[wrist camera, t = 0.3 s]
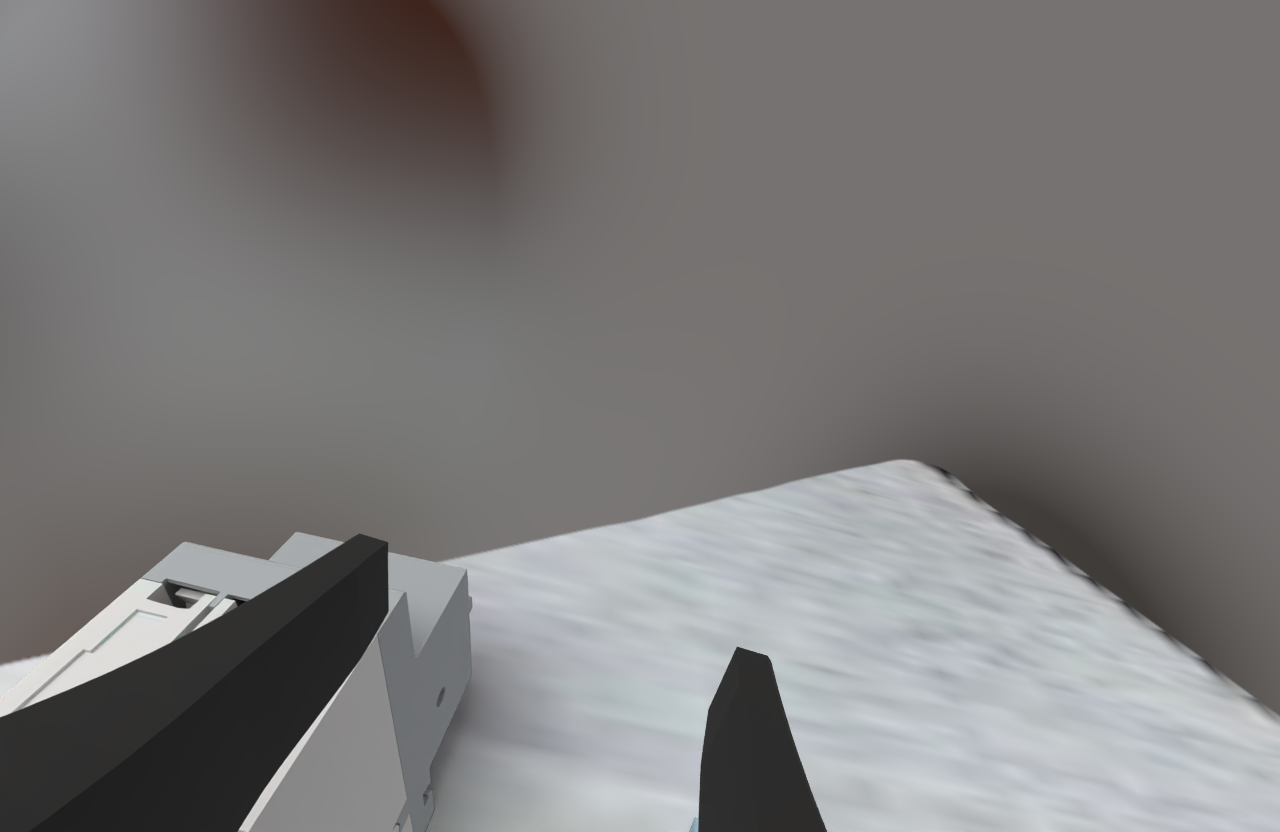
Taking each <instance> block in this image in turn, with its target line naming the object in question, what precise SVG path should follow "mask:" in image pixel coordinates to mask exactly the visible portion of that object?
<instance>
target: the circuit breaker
mask: <svg viewBox="0 0 1280 832" xmlns="http://www.w3.org/2000/svg"><path fill="white" fill-rule="evenodd" d="M343 543H344V542H341V541H336V540H332V539H327V538H322V537H318V536H314V535H309V534H305V533H300V532H296V533H295V534H294V535H293V536H292V537H291V538H290V539H289V540H288V541H287V542H286V543H285V544H284V545H283V546H282V547H281V548H280V549H279V550H278V551H277V552H276V553H275V554H274V555H273V556H272V557H271V558H270V559H269V560H264V559H259V558H255V557H251V556H246V555H242V554H238V553H233V552H229V551H224V550H220V549H215V548H211V547H207V546H202V545H198V544H194V543H189V542H183V543H182V544H181V545H180V546H178V547H177V548H176V549H175V550H174V551H172V552H171V553H170V554H169V555H168V556H167V557H165V558H164V559H163V560H162V561H161V562H159V563H158V564H157V565H156V566H155V567H154V568H152V569H151V570H150V571H149V572H148V573H146V574H145V575H144V576H143V577H142V579H139V580H138V581H137V582H136V583H135V584H133V585H132V586H131V587H130V588H129V589H128V590H126V591H125V592H124V593H123V594H122V595H120V596H119V597H118V598H117V599H116V600H115V601H114V602H113V603H111V604H110V605H109V606H108V607H106V608H105V609H104V610H103V611H102V612H100V613H99V614H98V615H97V616H96V617H95V618H93V619H92V620H91V621H90V622H89V623H88V624H86V625H85V626H84V627H83V628H82V629H81V630H79V631H78V632H77V633H76V634H75V635H73V636H72V637H71V638H70V639H69V640H68V641H66V642H65V643H64V644H63V645H62V646H61V647H59V648H58V649H57V650H56V651H55V652H53V653H52V654H51V655H50V656H49V657H48V658H46V659H45V660H44V661H43V662H42V663H41V664H39V665H38V666H37V667H36V668H35V669H33V670H32V671H31V672H30V673H29V674H28V675H26V676H25V677H24V678H23V679H22V680H21V681H19V682H18V683H17V684H16V685H15V686H13V687H12V688H11V689H10V690H9V691H8V692H6V693H5V694H4V695H3V696H2V697H1V698H0V717H2V716H5V715H7V714H10V713H13V712H15V711H18V710H20V709H23V708H25V707H28V706H30V705H32V704H35V703H37V702H40V701H42V700H44V699H47V698H49V697H52V696H54V695H57V694H59V693H61V692H64V691H66V690H69V689H71V688H73V687H76V686H78V685H80V684H83V683H85V682H87V681H90V680H92V679H94V678H97V677H99V676H101V675H103V674H106V673H108V672H110V671H112V670H115V669H117V668H119V667H121V666H123V665H125V664H127V663H130V662H132V661H134V660H136V659H138V658H140V657H142V656H144V655H146V654H149V653H151V652H153V651H155V650H157V649H159V648H161V647H163V646H165V645H167V644H169V643H171V642H173V641H175V640H177V639H179V638H181V637H183V636H184V635H186V634H188V633H190V632H192V631H194V630H196V629H198V628H199V627H201V626H203V625H205V624H207V623H209V622H210V621H212V620H214V619H216V618H218V617H220V616H222V615H223V614H225V613H227V612H229V611H231V610H233V609H234V608H236V607H238V606H240V605H242V604H243V603H245V602H247V601H248V600H250V599H252V598H254V597H255V596H257V595H259V594H260V593H262V592H264V591H265V590H267V589H269V588H271V587H272V586H274V585H276V584H277V583H279V582H281V581H283V580H284V579H286V578H288V577H289V576H291V575H292V574H294V573H296V572H297V571H299V570H301V569H302V568H304V567H306V566H307V565H309V564H310V563H312V562H314V561H315V560H317V559H319V558H320V557H322V556H323V555H325V554H327V553H328V552H330V551H331V550H333V549H335V548H336V547H338V546H340V545H341V544H343ZM467 579H468V577H467V569H463V568H459V567H454V566H450V565H445V564H441V563H436V562H432V561H427V560H422V559H418V558H413V557H409V556H404V555H400V554H395V553H391V552H388V589H389V612H388V614H387V615H386V617H385V619H384V621H383V622H382V624H381V626H380V628H379V629H378V631H377V633H376V635H375V636H374V638H373V640H372V641H371V643H370V645H369V646H368V648H367V650H366V651H365V653H364V655H363V656H362V658H361V659H360V661H359V662H358V664H357V665H356V666H355V668H354V669H353V670H352V672H351V673H350V675H349V676H348V677H347V679H346V680H345V681H344V683H343V684H342V685H341V687H340V688H339V689H338V691H337V692H336V693H335V695H334V696H333V697H332V699H331V700H330V701H329V703H328V704H327V705H326V707H325V708H324V709H323V711H322V712H321V713H320V715H319V716H318V717H317V719H316V720H315V721H314V723H313V724H312V725H311V727H310V728H309V729H308V731H307V732H306V733H305V735H304V736H303V737H302V738H301V740H300V741H299V742H298V744H297V745H296V746H295V748H294V749H293V750H292V752H291V753H290V754H289V756H288V757H287V758H286V760H285V761H284V762H283V764H282V765H281V766H280V768H279V769H278V771H277V772H276V774H275V775H274V776H273V778H272V779H271V781H270V782H269V784H268V785H267V786H266V788H265V789H264V791H263V792H262V794H261V795H260V797H259V799H258V800H257V802H256V803H255V805H254V806H253V808H252V810H251V811H250V813H249V814H248V816H247V818H246V819H245V821H244V822H243V824H242V825H241V827H240V829H239V830H238V832H426V829H427V827H428V824H429V822H430V820H431V817H432V815H433V813H434V809H435V808H434V801H433V793H432V789H429V788H427V787H428V786H429V784H430V783H431V777H430V766H431V764H432V762H433V759H434V757H435V755H436V753H437V751H438V748H439V746H440V744H441V742H442V740H443V737H444V735H445V733H446V731H447V728H448V726H449V724H450V722H451V720H452V717H453V715H454V713H455V711H456V709H457V706H458V704H459V702H460V700H461V697H462V695H463V693H464V691H465V689H466V686H467V684H468V682H469V680H470V678H471V674H472V667H471V644H470V621H469V613H470V611H471V609H472V597H470V596H468V580H467Z"/></svg>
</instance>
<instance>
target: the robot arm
mask: <svg viewBox="0 0 1280 832" xmlns="http://www.w3.org/2000/svg"><path fill="white" fill-rule="evenodd" d="M388 612H389V589H388V542H385V541H382V540H379V539H375V538H372V537H369V536H365V535H362V534H358V535H356V536H354V537H353V538H351V539H350V540H348V541H346V542H344V543H343V544H341V545H340V546H338V547H336V548H335V549H333V550H331V551H330V552H328V553H327V554H325V555H323V556H322V557H320V558H319V559H317V560H315V561H314V562H312V563H310V564H309V565H307V566H306V567H304V568H302V569H301V570H299V571H297V572H296V573H294V574H292V575H291V576H289V577H288V578H286V579H284V580H283V581H281V582H279V583H277V584H276V585H274V586H272V587H271V588H269V589H267V590H265V591H264V592H262V593H260V594H259V595H257V596H255V597H254V598H252V599H250V600H248V601H247V602H245V603H243V604H242V605H240V606H238V607H236V608H234V609H233V610H231V611H229V612H227V613H225V614H223V615H222V616H220V617H218V618H216V619H214V620H212V621H210V622H209V623H207V624H205V625H203V626H201V627H199V628H198V629H196V630H194V631H192V632H190V633H188V634H186V635H184V636H183V637H181V638H179V639H177V640H175V641H173V642H171V643H169V644H167V645H165V646H163V647H161V648H159V649H157V650H155V651H153V652H151V653H149V654H146V655H144V656H142V657H140V658H138V659H136V660H134V661H132V662H130V663H127V664H125V665H123V666H121V667H119V668H117V669H115V670H112V671H110V672H108V673H106V674H103V675H101V676H99V677H97V678H94V679H92V680H90V681H87V682H85V683H83V684H80V685H78V686H76V687H73V688H71V689H69V690H66V691H64V692H61V693H59V694H57V695H54V696H52V697H49V698H47V699H44V700H42V701H40V702H37V703H35V704H32V705H30V706H28V707H25V708H23V709H20V710H18V711H15V712H13V713H10V714H7V715H5V716H2V717H0V832H238V830H239V829H240V827H241V825H242V824H243V822H244V821H245V819H246V818H247V816H248V814H249V813H250V811H251V810H252V808H253V806H254V805H255V803H256V802H257V800H258V799H259V797H260V795H261V794H262V792H263V791H264V789H265V788H266V786H267V785H268V784H269V782H270V781H271V779H272V778H273V776H274V775H275V774H276V772H277V771H278V769H279V768H280V766H281V765H282V764H283V762H284V761H285V760H286V758H287V757H288V756H289V754H290V753H291V752H292V750H293V749H294V748H295V746H296V745H297V744H298V742H299V741H300V740H301V738H302V737H303V736H304V735H305V733H306V732H307V731H308V729H309V728H310V727H311V725H312V724H313V723H314V721H315V720H316V719H317V717H318V716H319V715H320V713H321V712H322V711H323V709H324V708H325V707H326V705H327V704H328V703H329V701H330V700H331V699H332V697H333V696H334V695H335V693H336V692H337V691H338V689H339V688H340V687H341V685H342V684H343V683H344V681H345V680H346V679H347V677H348V676H349V675H350V673H351V672H352V670H353V669H354V668H355V666H356V665H357V664H358V662H359V661H360V659H361V658H362V656H363V655H364V653H365V651H366V650H367V648H368V646H369V645H370V643H371V641H372V640H373V638H374V636H375V635H376V633H377V631H378V629H379V628H380V626H381V624H382V622H383V621H384V619H385V617H386V615H387V614H388ZM698 832H827V830H826V828H825V825H824V823H823V820H822V818H821V815H820V813H819V810H818V807H817V805H816V802H815V800H814V797H813V794H812V792H811V789H810V786H809V783H808V780H807V778H806V775H805V772H804V769H803V766H802V763H801V760H800V758H799V755H798V752H797V749H796V746H795V743H794V740H793V737H792V734H791V731H790V727H789V724H788V721H787V718H786V714H785V711H784V708H783V704H782V701H781V697H780V694H779V690H778V686H777V683H776V679H775V675H774V671H773V667H772V663H771V660H770V659H769V657H768V656H766V655H763V654H760V653H756V652H753V651H750V650H746V649H743V648H740V647H737V648H736V650H735V652H734V654H733V657H732V659H731V661H730V663H729V665H728V668H727V670H726V672H725V674H724V676H723V679H722V681H721V683H720V685H719V687H718V690H717V692H716V694H715V696H714V698H713V701H712V703H711V705H710V707H709V710H708V717H707V724H706V730H705V737H704V745H703V752H702V760H701V773H700V797H699V823H698Z"/></svg>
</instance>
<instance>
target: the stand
mask: <svg viewBox="0 0 1280 832" xmlns="http://www.w3.org/2000/svg"><path fill="white" fill-rule="evenodd" d="M698 823H699V818H695V819H694V821H693V824H692V826H691V829H690V831H689V832H698Z"/></svg>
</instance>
